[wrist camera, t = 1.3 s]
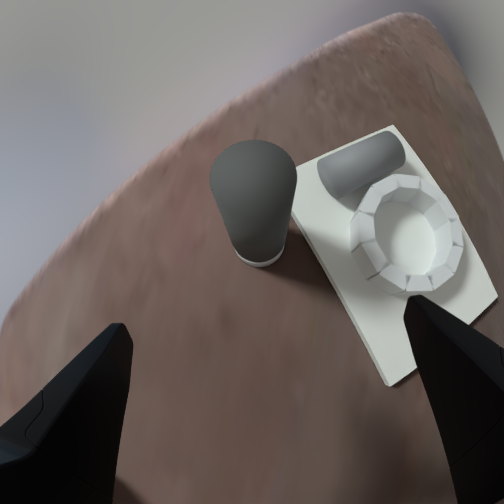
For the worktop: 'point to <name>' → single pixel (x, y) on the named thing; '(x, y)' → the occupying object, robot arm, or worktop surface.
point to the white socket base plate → (387, 242)
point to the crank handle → (255, 198)
